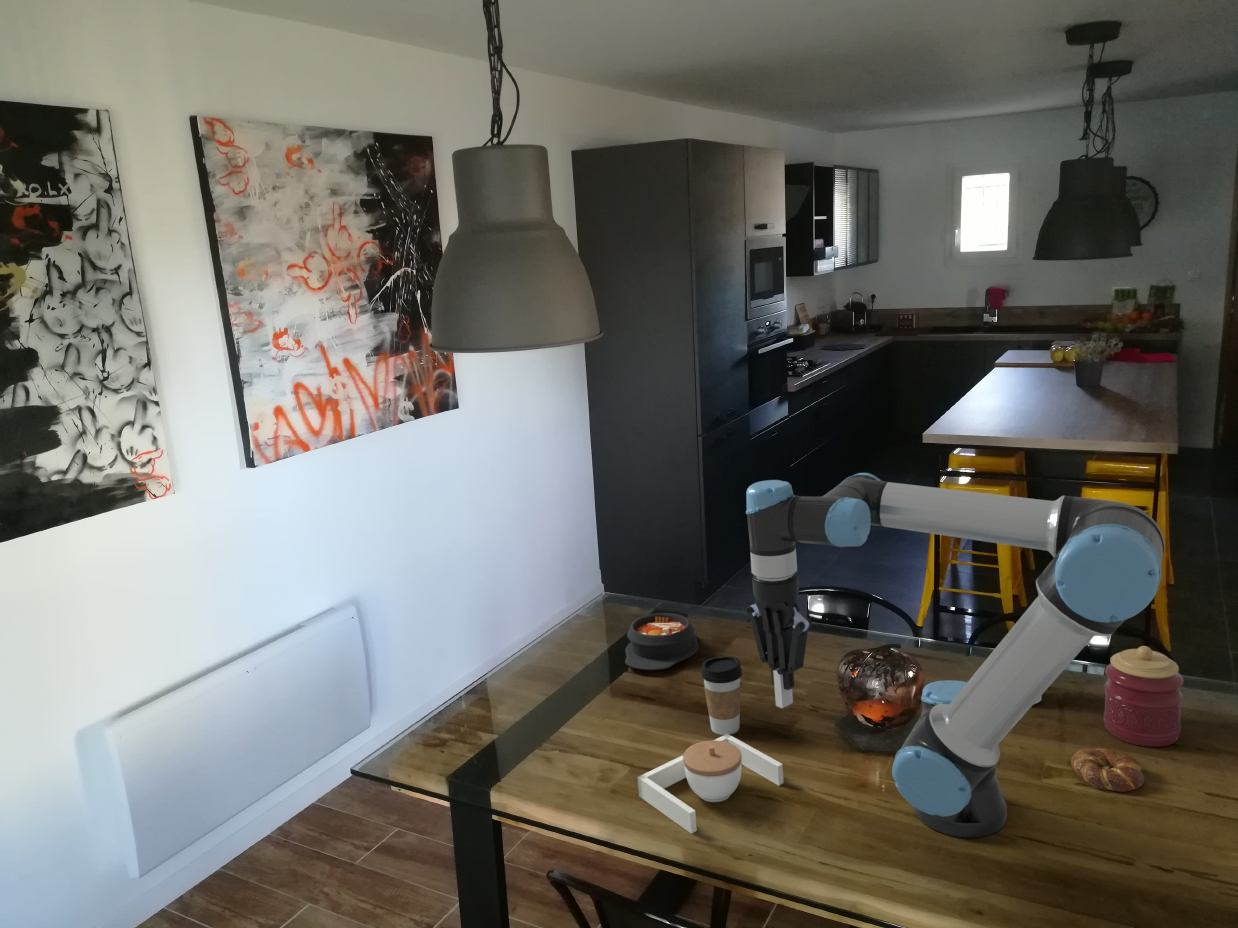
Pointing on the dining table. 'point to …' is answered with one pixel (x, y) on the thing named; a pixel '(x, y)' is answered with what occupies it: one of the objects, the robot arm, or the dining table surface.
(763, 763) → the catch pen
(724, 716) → the coffee cup
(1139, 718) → the canister
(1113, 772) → the pretzel
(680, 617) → the casserole
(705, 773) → the lidded jar
